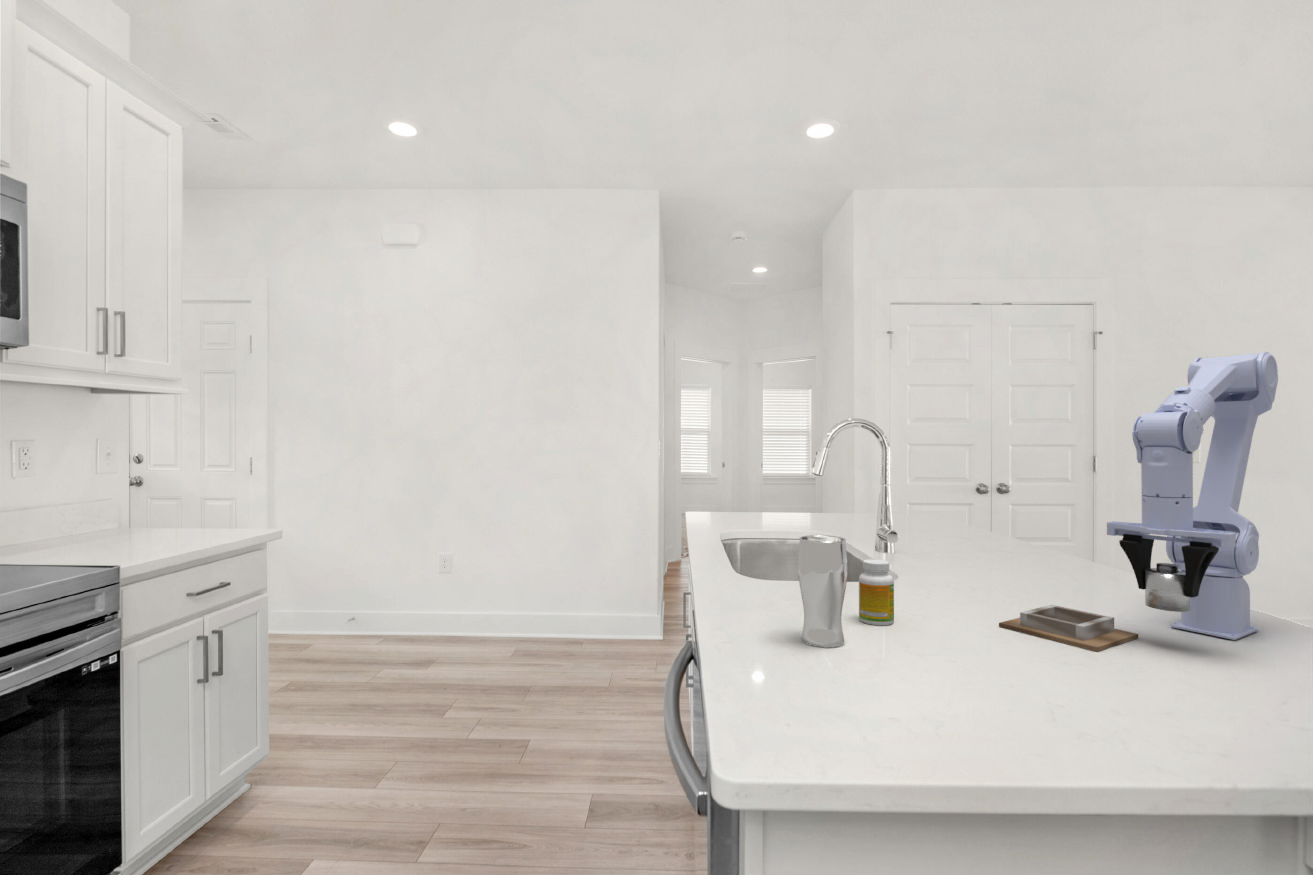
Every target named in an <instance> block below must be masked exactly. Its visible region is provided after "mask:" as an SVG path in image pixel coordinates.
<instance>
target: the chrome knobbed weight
mask: <svg viewBox="0 0 1313 875" xmlns="http://www.w3.org/2000/svg"><path fill="white" fill-rule="evenodd" d="M1185 580H1186V572H1184V571H1181V570H1179V569H1178V565H1175V564H1173V563H1168V562H1157V563H1156V567H1151V568H1148V569H1145V589H1144V593H1145V594H1144V598H1145V599H1144V601H1145V602H1144V604H1145V606H1146V607H1149V608H1151V609H1155V610H1161V611H1167V612H1178V613H1179V612H1180V613H1181V612H1187V611H1190V597H1186V592H1185Z"/></svg>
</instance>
